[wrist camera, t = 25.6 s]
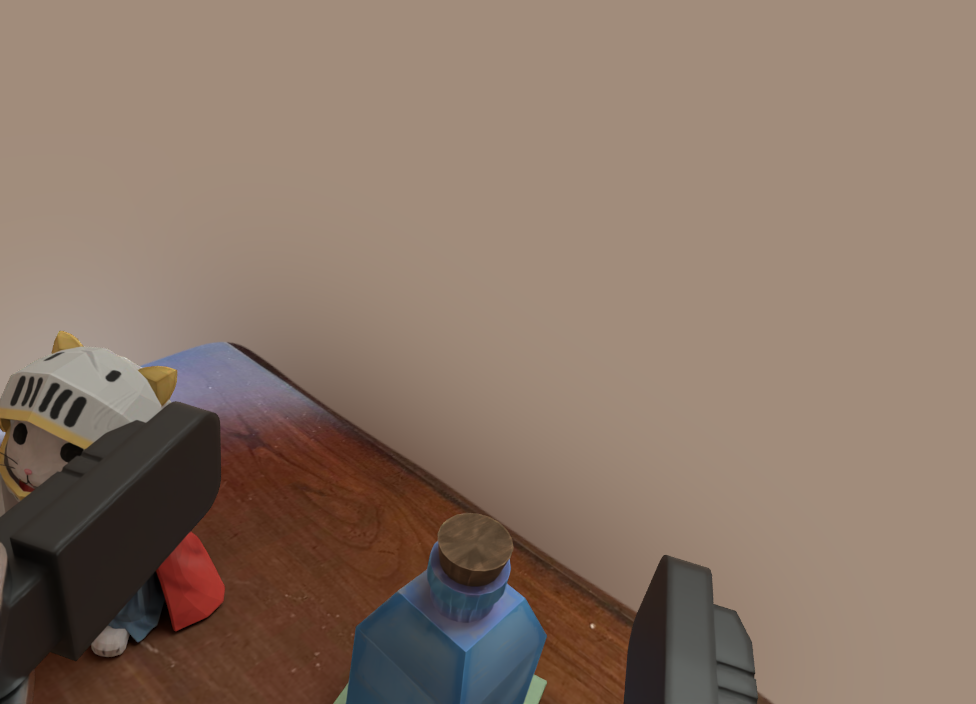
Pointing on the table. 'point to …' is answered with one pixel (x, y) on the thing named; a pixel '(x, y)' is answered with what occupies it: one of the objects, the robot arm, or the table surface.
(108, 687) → the table surface
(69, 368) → the figurine
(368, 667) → the perfume bottle
